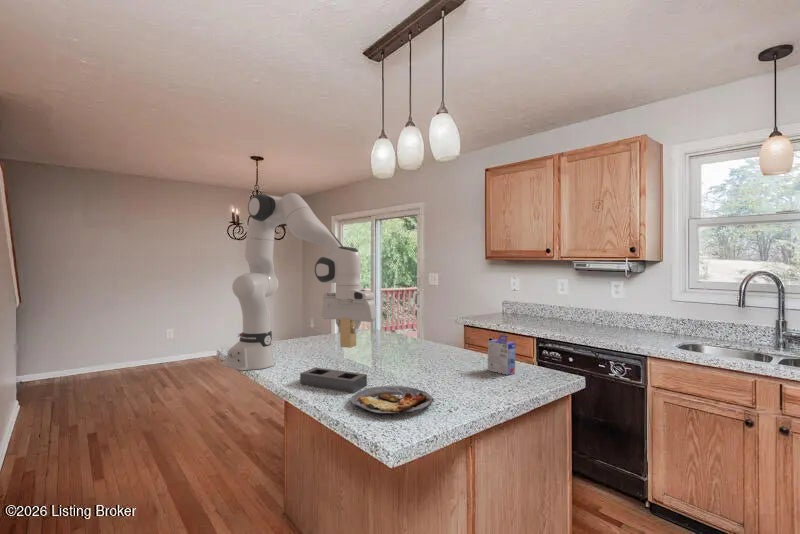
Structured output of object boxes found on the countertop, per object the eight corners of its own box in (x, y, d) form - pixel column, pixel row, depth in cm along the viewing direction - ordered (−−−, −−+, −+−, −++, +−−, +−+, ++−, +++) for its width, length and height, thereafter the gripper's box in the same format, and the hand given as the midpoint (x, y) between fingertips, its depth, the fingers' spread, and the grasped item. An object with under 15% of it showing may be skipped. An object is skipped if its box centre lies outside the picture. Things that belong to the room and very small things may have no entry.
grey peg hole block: (300, 384, 144) (300, 373, 144) (315, 377, 152) (315, 367, 152) (353, 393, 135) (353, 381, 135) (366, 385, 143) (366, 374, 143)
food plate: (448, 404, 124) (448, 393, 124) (393, 427, 108) (393, 414, 108) (392, 388, 142) (392, 378, 142) (337, 405, 126) (337, 394, 126)
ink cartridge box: (516, 373, 160) (516, 336, 160) (508, 375, 156) (508, 338, 156) (495, 368, 167) (495, 333, 167) (487, 370, 164) (487, 334, 163)
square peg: (340, 346, 140) (340, 317, 140) (346, 344, 144) (346, 316, 143) (350, 347, 138) (350, 318, 138) (356, 345, 142) (356, 317, 142)
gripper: (318, 292, 142) (318, 332, 142) (369, 295, 134) (369, 336, 134) (328, 291, 148) (328, 329, 148) (378, 293, 139) (378, 333, 140)
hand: (348, 333), depth 141 cm, fingers closed on square peg, 4 cm apart
